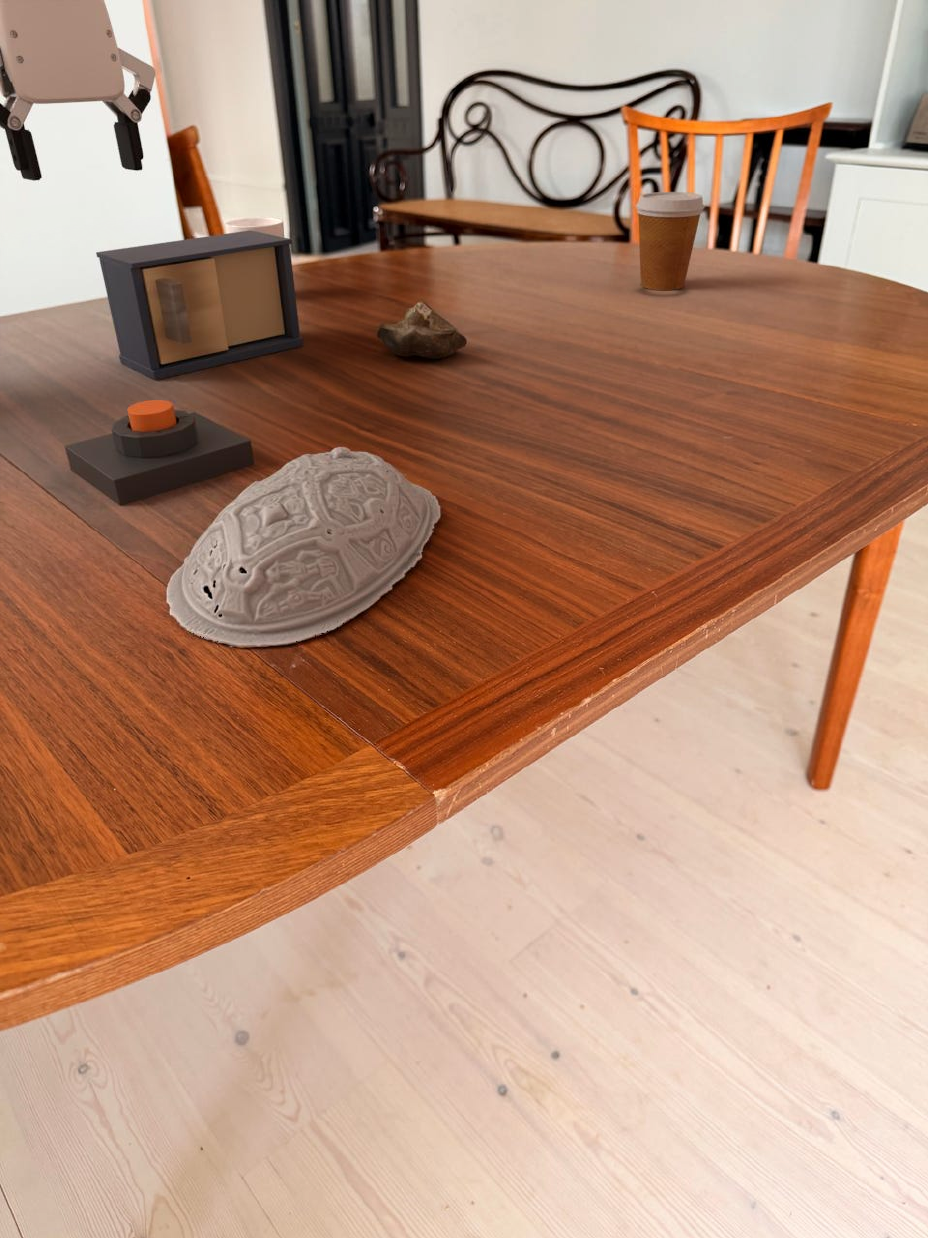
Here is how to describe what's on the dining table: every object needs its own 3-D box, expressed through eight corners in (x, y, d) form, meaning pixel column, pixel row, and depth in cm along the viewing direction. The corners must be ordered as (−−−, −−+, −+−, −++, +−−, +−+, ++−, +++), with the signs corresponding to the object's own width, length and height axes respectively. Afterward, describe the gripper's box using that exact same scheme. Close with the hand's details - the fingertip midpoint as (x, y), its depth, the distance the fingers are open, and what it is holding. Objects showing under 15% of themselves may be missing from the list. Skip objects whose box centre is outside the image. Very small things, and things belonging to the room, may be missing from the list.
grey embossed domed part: (106, 611, 56) (93, 512, 52) (306, 477, 76) (307, 399, 72) (331, 682, 52) (334, 579, 48) (478, 521, 72) (488, 441, 69)
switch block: (120, 506, 70) (108, 458, 68) (70, 470, 77) (58, 425, 75) (254, 464, 77) (248, 419, 75) (198, 434, 83) (191, 392, 81)
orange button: (143, 438, 73) (138, 417, 72) (124, 427, 75) (120, 406, 74) (184, 427, 75) (180, 406, 74) (164, 416, 77) (160, 396, 76)
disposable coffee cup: (626, 278, 137) (632, 191, 130) (689, 278, 136) (699, 190, 130) (633, 293, 129) (640, 201, 122) (700, 292, 128) (711, 200, 122)
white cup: (250, 305, 126) (240, 228, 121) (227, 295, 132) (216, 221, 126) (301, 296, 130) (292, 222, 125) (276, 287, 136) (267, 215, 130)
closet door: (176, 371, 96) (158, 274, 91) (158, 363, 99) (139, 267, 93) (244, 356, 100) (231, 262, 95) (225, 348, 103) (210, 256, 98)
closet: (155, 380, 98) (131, 263, 91) (120, 363, 103) (95, 252, 97) (303, 345, 108) (291, 238, 102) (264, 332, 114) (250, 229, 108)
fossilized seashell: (360, 338, 101) (436, 365, 98) (381, 281, 100) (459, 306, 97) (389, 357, 108) (461, 382, 105) (409, 304, 107) (482, 328, 104)
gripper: (113, -45, 83) (151, 163, 92) (-91, -54, 73) (-26, 180, 82) (150, -52, 78) (187, 168, 87) (-63, -63, 68) (3, 186, 77)
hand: (84, 173), depth 85 cm, fingers open, 9 cm apart
